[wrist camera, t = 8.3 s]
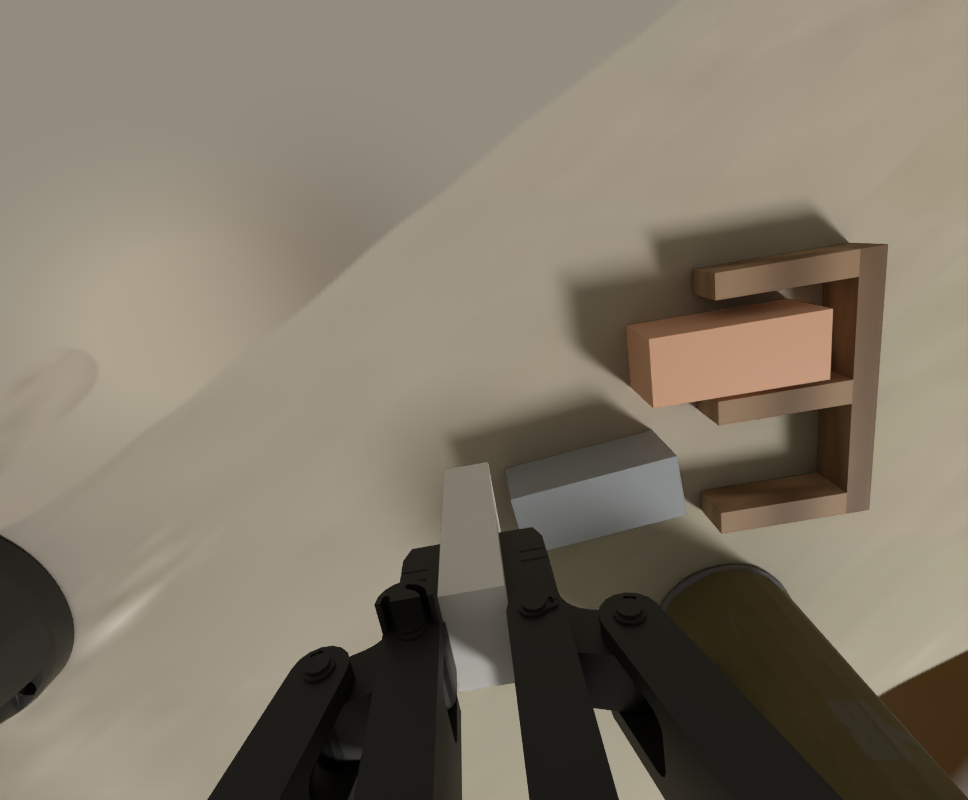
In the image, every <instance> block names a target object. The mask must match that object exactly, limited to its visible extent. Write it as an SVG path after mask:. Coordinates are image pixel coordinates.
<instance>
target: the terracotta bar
mask: <svg viewBox="0 0 968 800" xmlns="http://www.w3.org/2000/svg"><path fill="white" fill-rule="evenodd" d="M832 323H833V309H832V308H828V307H823V306H818V305H814V304H809V303H804V302H800V301H795V300H791V299H782V300H776V301H770V302H764V303H758V304H752V305H746V306H740V307H734V308H728V309H722V310H716V311H710V312H704V313H698V314H692V315H686V316H680V317H674V318H668V319H662V320H656V321H650V322H644V323H638V324H632V325H626V335H627V348H628V360H629V373H630V386H631V388H632V389H633V390H634V391H635V392H637V393H638V394H639V395H640V396H641V397H642V398H643V399H644V400H645V401H646V402H647V403H648V404H649V405H650V406H651V407H653V408H659V407H665V406H671V405H677V404H683V403H689V402H696V401H702V400H708V399H714V398H720V397H726V396H732V395H738V394H744V393H750V392H756V391H762V390H768V389H775V388H781V387H787V386H793V385H799V384H805V383H811V382H817V381H823V380H829V379H830V371H831V347H832Z"/></svg>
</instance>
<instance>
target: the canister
mask: <svg viewBox="0 0 968 800" xmlns="http://www.w3.org/2000/svg"><path fill="white" fill-rule="evenodd" d="M661 608H662V609H663V610H664V611H665V613H666V614H667V615H668V616H669V617H670V618H671V619H672V620H673V621H674V622H675V623H676V624H677V625H678V626H679V627H680V628H681V629H682V630H683V631H684V632H685V634H686V635H687V636H688V637H689V638H690V639H691V640H692V641H693V642H694V643H695V644H696V645H697V646H698V647H699V648H700V649H701V650H702V651H703V652H704V654H705V655H706V656H707V657H708V658H709V659H710V660H711V661H712V662H713V663H714V664H715V665H716V666H717V667H718V668H719V669H720V670H721V671H722V672H723V673H724V675H725V676H726V677H727V678H728V679H729V680H730V681H731V682H732V683H733V684H734V685H735V686H736V687H737V688H738V689H739V690H740V691H741V692H742V693H743V695H744V696H745V697H746V698H747V699H748V700H749V701H750V702H751V703H752V704H753V705H754V706H755V707H756V708H757V709H758V710H759V711H760V712H761V713H762V714H763V716H764V717H765V718H766V719H767V720H768V721H769V722H770V723H771V724H772V725H773V726H774V727H775V728H776V729H777V730H778V731H779V732H780V733H781V734H782V735H783V737H784V738H785V739H786V740H787V741H788V742H789V743H790V744H791V745H792V746H793V747H794V748H795V749H796V750H797V751H798V752H799V753H800V754H801V755H802V757H803V758H804V759H805V760H806V761H807V762H808V763H809V764H810V765H811V766H812V767H813V768H814V769H815V770H816V771H817V772H818V773H819V774H820V775H821V776H822V778H823V779H824V780H825V781H826V782H827V783H828V784H829V785H830V786H831V787H832V788H833V789H834V790H835V791H836V792H837V793H838V794H839V795H840V796H841V797H842V799H843V800H968V798H967V797H966V796H965V795H964V793H963V792H962V791H961V790H960V789H959V788H958V787H957V785H956V784H955V783H954V782H953V781H952V780H951V779H950V778H949V777H948V775H947V774H946V773H945V772H944V771H943V770H942V769H941V768H940V766H939V765H938V764H937V763H936V762H935V761H934V760H933V758H932V757H931V756H930V755H929V754H928V753H927V752H926V751H925V750H924V748H923V747H922V746H921V745H920V744H919V743H918V742H917V740H916V739H915V738H914V737H913V736H912V735H911V734H910V732H908V730H907V729H906V728H905V727H904V726H903V725H902V724H901V722H900V721H899V720H898V719H897V718H896V717H895V716H894V715H893V713H892V712H891V711H890V710H889V709H888V708H887V707H886V705H885V704H884V703H883V702H882V701H881V700H880V699H879V697H878V696H877V695H876V694H875V693H874V692H873V691H872V690H871V688H870V687H869V686H868V685H867V684H866V683H865V682H864V681H863V679H862V678H861V677H860V676H859V675H858V674H857V673H856V672H855V670H854V669H853V668H852V667H851V666H850V665H849V664H848V662H847V661H846V660H845V659H844V658H843V657H842V656H841V655H840V653H839V652H838V651H837V650H836V649H835V648H834V647H833V646H832V644H831V643H830V642H829V641H828V640H827V639H826V638H825V637H824V635H823V634H822V633H821V632H820V631H819V630H818V629H817V627H816V626H815V625H814V624H813V623H812V622H811V621H810V620H809V618H808V617H807V616H806V615H805V614H804V613H803V612H802V611H801V609H800V608H799V607H798V606H797V605H796V604H795V603H794V602H793V600H792V599H791V598H790V596H789V594H788V593H787V591H786V589H785V588H784V586H783V585H782V584H781V583H780V582H779V581H778V580H777V579H776V578H775V577H773V576H772V575H771V574H769V573H767V572H765V571H763V570H761V569H759V568H756V567H751V566H747V565H722V566H718V567H714V568H710V569H706V570H703V571H700V572H698V573H696V574H693V575H692V576H690V577H689V578H687V579H686V580H684V581H682V582H681V583H680V584H679V585H678V586H677V587H676V588H674V589H673V590H672V591H671V592H670V593H669V594H668V596H667V597H666V598H665V600H664V601H663V603H662V604H661Z"/></svg>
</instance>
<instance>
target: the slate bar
mask: <svg viewBox="0 0 968 800" xmlns="http://www.w3.org/2000/svg"><path fill="white" fill-rule="evenodd" d="M505 472H506V477H507V483H508V488H509V494H510V499H511V503H512V507H513V510H514V513H515V517H516V520H517V524H518V527H519V529H523V528H529V527H533V528H534V529H535V530H537V531H538V532H539V533H540V534H541V535H542V536H543V540H544V543H545V547H546V551H548V550H552V549H556V548H560V547H564V546H568V545H572V544H575V543H579V542H583V541H587V540H591V539H595V538H599V537H603V536H606V535H610V534H614V533H618V532H622V531H626V530H630V529H634V528H637V527H641V526H645V525H649V524H653V523H657V522H661V521H665V520H668V519H672V518H676V517H680V516H684V515H687V511H686V506H685V500H684V494H683V488H682V483H681V477H680V471H679V465H678V460H677V456H676V455H675V454H674V452H673V451H672V450H671V449H670V448H669V447H668V446H667V445H666V444H665V443H664V442H663V441H662V440H661V439H660V438H659V437H658V436H657V435H656V434H655V433H654V431H653V430H649V431H645V432H641V433H638V434H634V435H630V436H626V437H622V438H619V439H615V440H611V441H607V442H604V443H600V444H596V445H592V446H589V447H585V448H581V449H577V450H573V451H570V452H566V453H562V454H558V455H555V456H551V457H547V458H543V459H540V460H536V461H532V462H528V463H525V464H521V465H517V466H513V467H509V468H506V469H505Z"/></svg>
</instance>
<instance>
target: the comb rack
mask: <svg viewBox="0 0 968 800" xmlns="http://www.w3.org/2000/svg"><path fill="white" fill-rule="evenodd" d="M887 252H888V244H868V243H846V244H840V245H834V246H828V247H822V248H816V249H810V250H804V251H798V252H792V253H786V254H780V255H774V256H768V257H762V258H756V259H751V260H745V261H739V262H733V263H727V264H721V265H715V266H709V267H703V268H697V269H692V273H693V294H694V295H698V296H701V297H705V298H708V299H712V300H715V301H716V300H722V299H728V298H734V297H740V296H746V295H752V294H758V293H764V292H770V291H776V290H782V289H788V288H794V287H800V286H806V285H812V284H818V283H824V290H823V307H828V308H832V309H833V323H832V347H831V371H830V379H829V380H823V381H817V382H811V383H805V384H799V385H793V386H787V387H781V388H775V389H768V390H762V391H756V392H750V393H744V394H738V395H732V396H726V397H720V398H714V399H708V400H702V401H697V402H698V410H699V411H701V412H702V413H703V414H704V415H706V416H707V417H708V418H710V419H711V420H712V421H714V422H715V423H716V424H717V425H725V424H731V423H737V422H744V421H750V420H756V419H762V418H768V417H774V416H780V415H786V414H792V413H798V412H804V411H810V410H817V409H819V429H818V457H817V472H815V473H809V474H803V475H797V476H791V477H784V478H778V479H772V480H766V481H760V482H754V483H748V484H741V485H735V486H729V487H723V488H717V489H711V490H705V491H701V505H702V511H703V512H704V514H705V515H706V516H707V517H708V518H709V519H710V521H711V522H712V523H713V524H714V525H715V526H716V528H717V529H718V530H719V531H720V532H721V534H723V533H729V532H735V531H742V530H748V529H754V528H760V527H766V526H772V525H779V524H785V523H791V522H797V521H803V520H809V519H816V518H822V517H828V516H834V515H840V514H846V513H853V512H859V511H865V510H869V506H870V491H871V477H872V463H873V449H874V435H875V421H876V407H877V393H878V379H879V365H880V351H881V336H882V322H883V308H884V294H885V280H886V266H887Z"/></svg>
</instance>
